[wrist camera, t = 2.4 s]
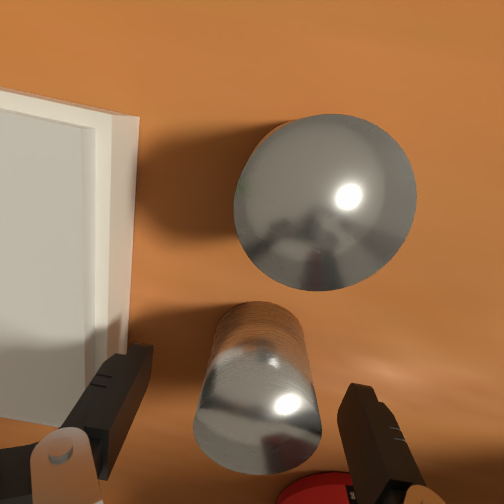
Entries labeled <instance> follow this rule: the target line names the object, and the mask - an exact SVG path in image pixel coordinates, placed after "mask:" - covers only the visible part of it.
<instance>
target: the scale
mask: <svg viewBox="0 0 504 504" xmlns="http://www.w3.org/2000/svg"><path fill="white" fill-rule="evenodd" d="M139 121H140V117H137V116H133V115H128V114H124V113H119V112H115V111H110V110H106V109H101V108H96V107H92V106H87V105H83V104H78V103H74V102H69V101H64V100H60V99H55V98H51V97H46V96H42V95H37V94H32V93H28V92H23V91H19V90H14V89H10V88H5V87H0V417H3V418H8V419H14V420H19V421H25V422H31V423H36V424H42V425H47V426H53V427H58V428H59V427H60V426H61V425H62V424H63V423H64V421H65V420H66V418H67V416H68V415H69V413H70V412H71V410H72V409H73V407H74V406H75V404H76V403H77V401H78V400H79V398H80V397H81V395H82V394H83V392H84V391H85V389H86V388H87V386H89V383H90V382H91V380H92V379H93V377H94V376H95V375H96V373H97V371H98V370H99V368H100V367H101V365H102V364H103V362H104V361H106V360H107V359H108V358H110V357H111V356H112V355H114V354H115V353H118V354H124V355H126V353H127V341H128V323H129V305H130V286H131V268H132V249H133V231H134V213H135V194H136V176H137V157H138V139H139Z"/></svg>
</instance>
